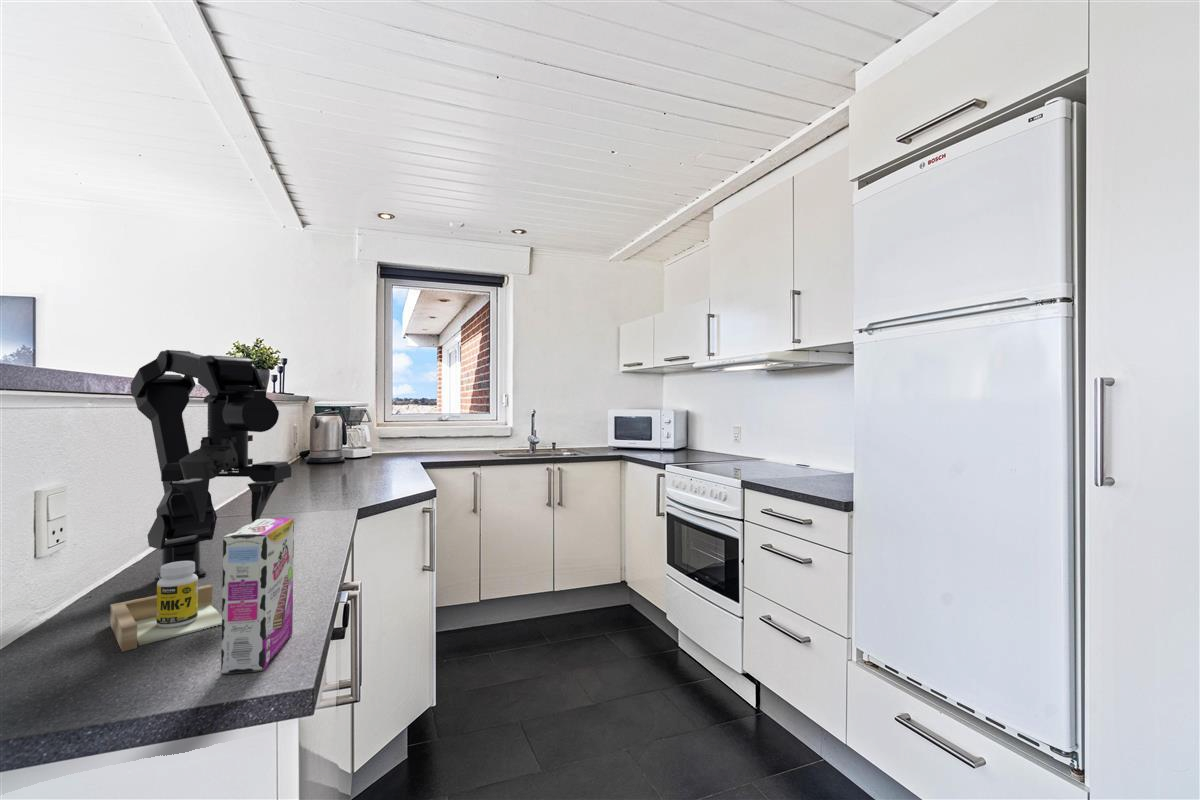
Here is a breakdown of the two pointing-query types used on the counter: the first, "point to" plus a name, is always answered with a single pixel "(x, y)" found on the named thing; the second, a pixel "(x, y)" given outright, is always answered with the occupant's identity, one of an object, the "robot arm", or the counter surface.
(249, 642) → the candy bar box
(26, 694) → the counter surface
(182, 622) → the supplement bottle
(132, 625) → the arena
